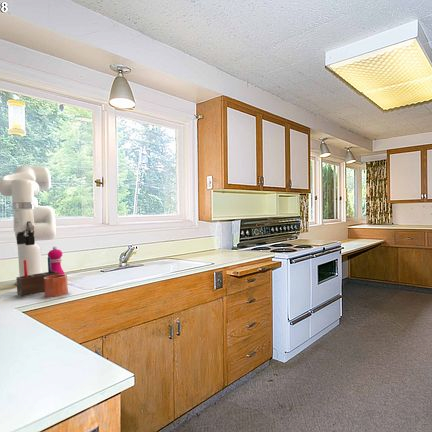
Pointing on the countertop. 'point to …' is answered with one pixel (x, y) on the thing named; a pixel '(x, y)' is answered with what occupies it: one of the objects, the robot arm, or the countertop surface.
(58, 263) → the pepper mill
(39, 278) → the caddy
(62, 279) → the crock
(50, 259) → the blue rounded rod
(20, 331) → the countertop surface
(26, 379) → the countertop surface
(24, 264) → the red toy mallet
